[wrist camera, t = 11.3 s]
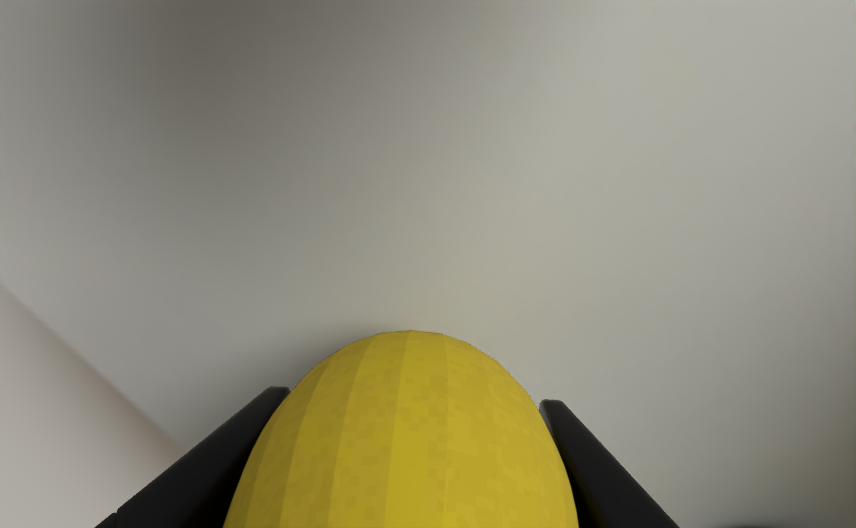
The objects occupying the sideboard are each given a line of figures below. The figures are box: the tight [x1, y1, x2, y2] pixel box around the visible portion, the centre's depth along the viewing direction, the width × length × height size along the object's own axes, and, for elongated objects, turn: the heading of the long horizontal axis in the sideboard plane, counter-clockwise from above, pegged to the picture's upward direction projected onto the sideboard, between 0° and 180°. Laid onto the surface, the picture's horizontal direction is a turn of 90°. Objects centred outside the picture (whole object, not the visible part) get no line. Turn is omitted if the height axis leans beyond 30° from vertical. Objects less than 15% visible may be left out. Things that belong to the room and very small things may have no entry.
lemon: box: [223, 330, 579, 528], centre depth 7 cm, size 6×6×8 cm
